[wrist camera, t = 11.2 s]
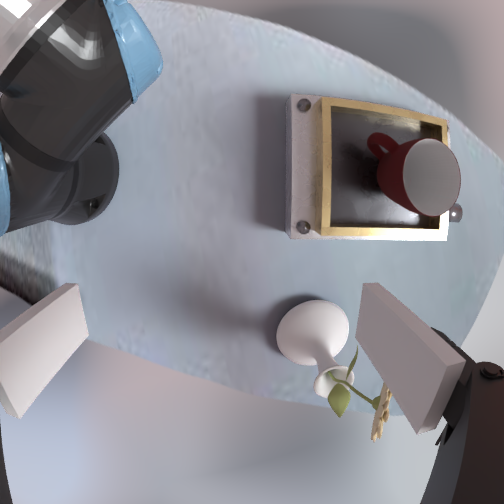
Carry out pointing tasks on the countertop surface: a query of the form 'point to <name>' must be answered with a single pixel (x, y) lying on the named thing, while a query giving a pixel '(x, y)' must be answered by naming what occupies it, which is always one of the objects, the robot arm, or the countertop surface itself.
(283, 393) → the countertop surface
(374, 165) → the gold rimmed tray box
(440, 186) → the mug
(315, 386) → the flower in vase
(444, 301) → the countertop surface
